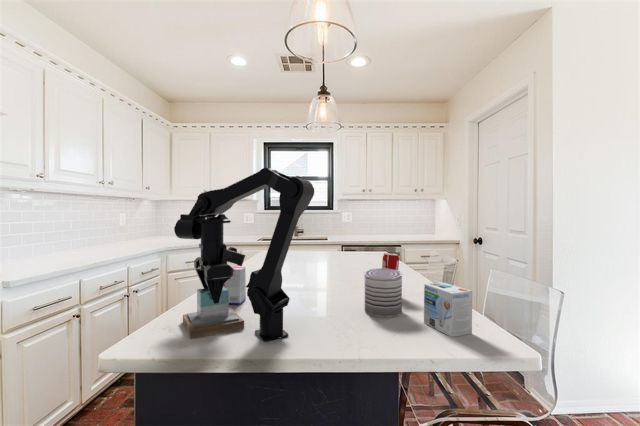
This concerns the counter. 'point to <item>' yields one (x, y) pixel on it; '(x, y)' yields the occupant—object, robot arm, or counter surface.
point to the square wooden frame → (211, 324)
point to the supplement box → (236, 286)
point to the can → (383, 292)
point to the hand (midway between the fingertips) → (212, 298)
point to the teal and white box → (212, 305)
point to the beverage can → (390, 261)
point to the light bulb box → (448, 308)
